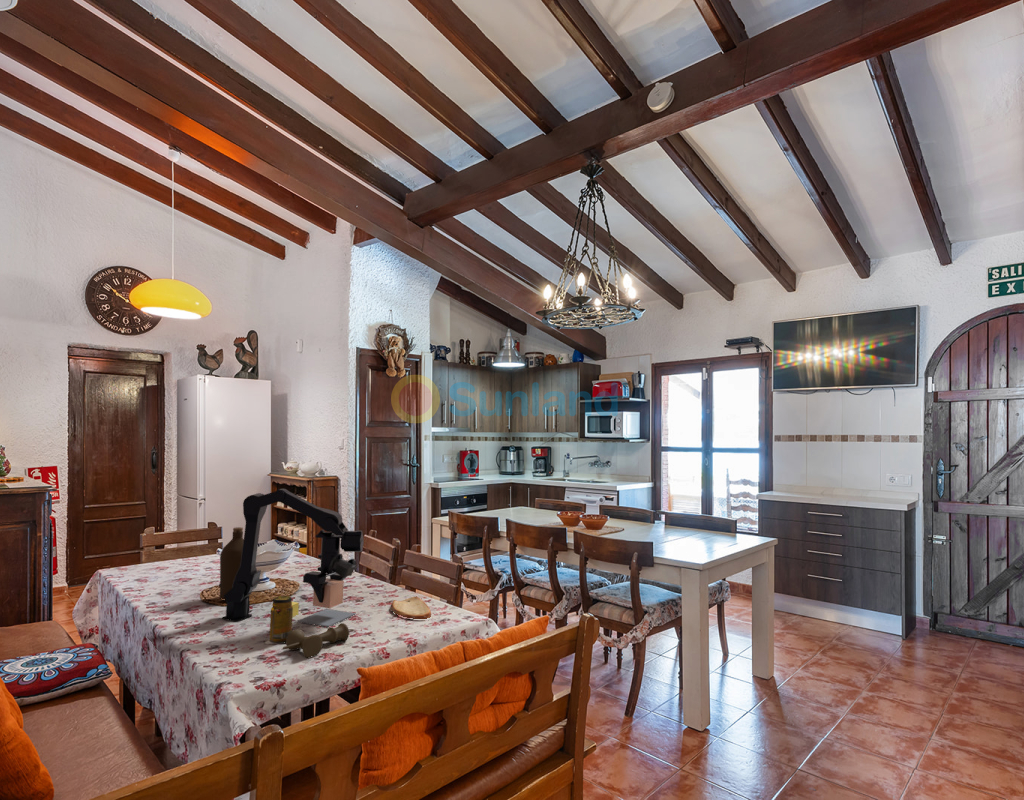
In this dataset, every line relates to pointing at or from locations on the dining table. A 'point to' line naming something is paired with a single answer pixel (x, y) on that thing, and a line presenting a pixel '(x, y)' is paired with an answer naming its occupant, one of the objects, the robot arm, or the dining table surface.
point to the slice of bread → (411, 608)
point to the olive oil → (230, 561)
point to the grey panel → (326, 617)
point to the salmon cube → (330, 594)
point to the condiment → (280, 619)
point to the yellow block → (295, 608)
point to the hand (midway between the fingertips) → (328, 599)
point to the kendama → (315, 639)
